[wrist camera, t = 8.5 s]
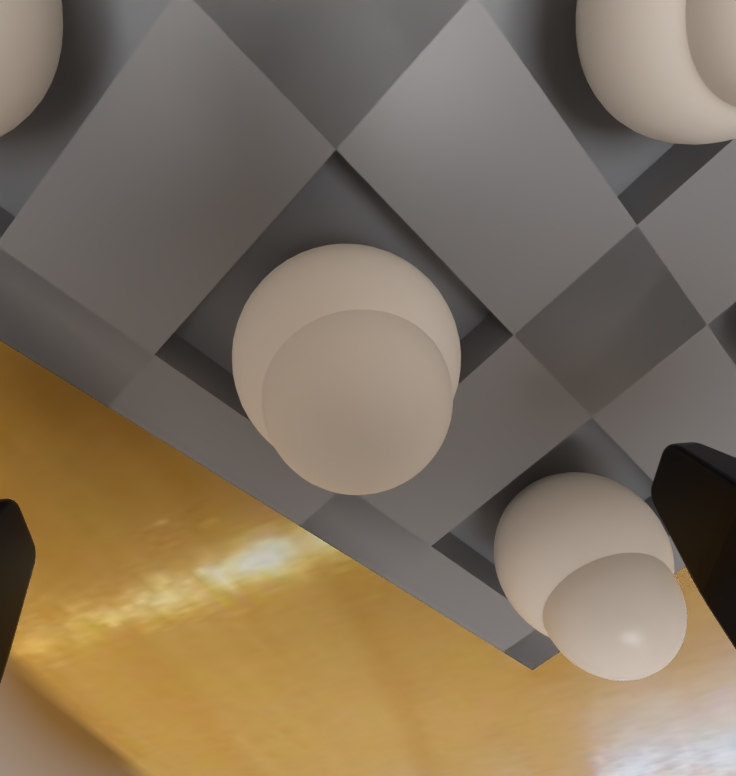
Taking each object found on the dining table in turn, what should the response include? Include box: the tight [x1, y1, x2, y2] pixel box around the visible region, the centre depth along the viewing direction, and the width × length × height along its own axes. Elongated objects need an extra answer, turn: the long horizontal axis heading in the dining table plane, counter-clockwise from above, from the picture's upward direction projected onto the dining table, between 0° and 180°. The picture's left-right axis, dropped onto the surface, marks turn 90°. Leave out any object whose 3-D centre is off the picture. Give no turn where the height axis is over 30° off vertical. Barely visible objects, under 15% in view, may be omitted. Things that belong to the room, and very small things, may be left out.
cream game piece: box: [232, 244, 461, 495], centre depth 11 cm, size 5×5×6 cm
